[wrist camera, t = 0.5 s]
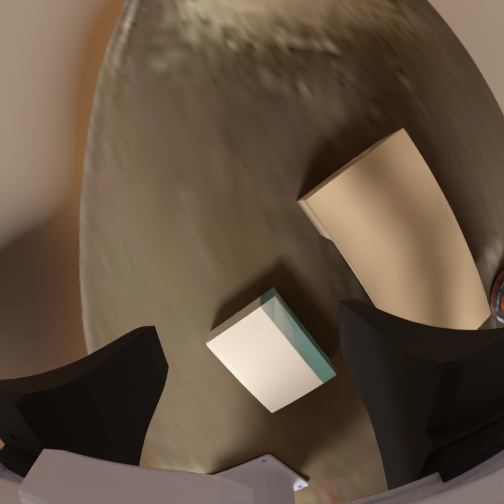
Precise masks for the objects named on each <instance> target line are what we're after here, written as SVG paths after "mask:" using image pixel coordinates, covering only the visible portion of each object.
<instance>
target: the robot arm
mask: <svg viewBox="0 0 504 504" xmlns="http://www.w3.org/2000/svg"><path fill="white" fill-rule="evenodd" d="M338 312H339V336H340V349H341V352H342V355H343V359H344V362H345V365H346V367H347V369H348V371H349V374H350V376H351V378H352V380H353V382H354V384H355V386H356V388H357V390H358V392H359V394H360V396H361V398H362V400H363V402H364V404H365V406H366V409H367V411H368V414H369V416H370V420H371V423H372V426H373V429H374V432H375V436H376V439H377V443H378V446H379V450H380V454H381V458H382V462H383V466H384V470H385V475H386V480H387V485H388V490H389V491H386V492H383V493H379V494H376V495H372V496H369V497H365V498H361V499H358V500H353V501H349V502H345V503H340V504H504V328H496V329H486V330H463V329H450V328H442V327H435V326H430V325H426V324H421V323H417V322H413V321H410V320H407V319H404V318H401V317H398V316H395V315H392V314H390V313H387V312H385V311H383V310H380V309H378V308H376V307H373V306H371V305H369V304H366V303H364V302H362V301H359V300H356V299H348V300H343V301H338ZM168 368H169V366H168V363H167V361H166V358H165V355H164V352H163V349H162V346H161V344H160V341H159V338H158V335H157V331H156V328H155V326H144V327H139V328H137V329H135V330H133V331H131V332H129V333H127V334H125V335H123V336H122V337H120V338H118V339H117V340H115V341H113V342H111V343H110V344H108V345H106V346H105V347H103V348H101V349H99V350H97V351H95V352H94V353H92V354H90V355H88V356H86V357H84V358H82V359H80V360H78V361H75V362H73V363H71V364H68V365H66V366H63V367H60V368H57V369H54V370H51V371H48V372H45V373H42V374H37V375H33V376H28V377H22V378H16V379H5V380H0V439H1V440H2V441H3V443H4V444H5V445H4V447H3V448H2V449H1V448H0V504H295V494H294V491H296V490H299V489H301V488H304V487H306V486H308V481H306V480H305V479H303V478H302V477H300V476H299V475H298V474H296V473H295V472H293V471H292V470H291V469H289V468H288V467H287V466H285V465H284V464H283V463H281V462H280V461H279V460H277V459H276V458H275V457H274V456H272V455H270V454H266V455H264V456H261V457H259V458H257V459H254V460H252V461H249V462H247V463H244V464H242V465H239V466H237V467H234V468H231V469H229V470H226V471H223V472H220V473H217V474H214V475H207V474H200V473H194V472H188V471H180V470H167V469H157V468H148V467H141V466H139V463H140V458H141V452H142V448H143V444H144V440H145V436H146V433H147V430H148V427H149V424H150V422H151V419H152V417H153V414H154V412H155V409H156V407H157V404H158V402H159V399H160V397H161V394H162V392H163V389H164V386H165V382H166V378H167V373H168Z"/></svg>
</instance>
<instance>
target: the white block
mask: <svg viewBox="0 0 504 504" xmlns="http://www.w3.org/2000/svg"><path fill="white" fill-rule="evenodd" d="M206 345H207V346H208V347H209V348H210V350H211V351H212V352H213V353H214V354H215V355H216V356H217V357H218V358H219V359H220V361H221V362H222V363H223V364H224V365H225V366H226V367H227V368H228V369H229V370H230V371H231V372H232V373H233V375H234V376H235V377H236V378H237V379H238V380H239V381H240V382H241V383H242V384H243V385H244V386H245V387H246V388H247V389H248V390H249V391H250V392H251V393H252V394H253V395H254V396H255V397H256V398H257V399H258V400H259V401H260V402H261V403H262V404H263V405H264V406H265V407H266V408H267V409H268V410H269V411H270V412H271V413H273V412H275V411H277V410H279V409H281V408H283V407H284V406H286V405H288V404H290V403H291V402H293V401H295V400H297V399H298V398H300V397H302V396H304V395H305V394H307V393H309V392H310V391H312V390H313V389H315V388H317V387H318V386H320V385H322V384H323V383H325V382H326V381H328V380H329V379H331V378H333V377H334V376H336V375H337V374H336V372H335V370H334V367H333V365H332V363H331V360H330V359H329V358H328V356H327V355H326V354H325V353H324V351H323V350H322V349H321V348H320V346H319V345H318V344H317V342H316V341H315V340H314V339H313V337H312V336H311V335H310V333H309V332H308V331H307V330H306V328H305V327H304V326H303V324H302V323H301V322H300V321H299V319H298V318H297V317H296V315H295V314H294V313H293V312H292V310H291V309H290V308H289V306H288V305H287V304H286V302H285V301H284V300H283V299H282V297H281V296H280V295H279V293H278V292H277V291H276V290H275V288H274V287H273V288H271V289H270V290H269V291H267V292H266V293H264V294H263V295H262V296H260V297H259V298H257V299H256V300H255V301H253V302H252V303H250V304H249V305H248V306H246V307H245V308H243V309H242V310H240V311H239V312H238V313H236V314H235V315H233V316H232V317H230V318H229V319H228V320H226V321H225V322H223V323H222V324H220V325H219V326H217V327H216V328H214V329H213V330H212V331H211V332H210V334H209V337H208V339H207V342H206Z"/></svg>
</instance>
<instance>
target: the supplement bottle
mask: <svg viewBox="0 0 504 504" xmlns="http://www.w3.org/2000/svg"><path fill="white" fill-rule="evenodd" d="M490 309H491V313H492V315H493V316H494V318H495V319H497V320H498V321H500V322H501V323H503V324H504V269H503V270H502V271H501V273H500V274H499V275H498V277H497V278H496V280H495V283H494V285H493V288H492V292H491V297H490Z"/></svg>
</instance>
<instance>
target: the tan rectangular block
mask: <svg viewBox="0 0 504 504" xmlns="http://www.w3.org/2000/svg"><path fill="white" fill-rule="evenodd" d="M297 203H298V204H299V206H300V207H301V208H302V210H303V211H304V212H305V214H306V215H307V216H308V218H309V219H310V221H311V222H312V223H313V225H314V226H315V228H316V229H317V230H318V232H319V233H320V235H322V236H324V237H326V238H328V239H330V240H332V241H333V242H334V244H335V245H336V247H337V248H338V250H339V251H340V253H341V254H342V256H343V257H344V259H345V260H346V261H347V263H348V264H349V266H350V268H351V269H352V271H353V272H354V274H355V275H356V277H357V278H358V280H359V281H360V283H361V284H362V286H363V287H364V289H365V291H366V292H367V294H368V295H369V297H370V298H371V300H372V302H373V303H374V305H375V307H376V308H378V309H380V310H383V311H385V312H387V313H390V314H392V315H395V316H398V317H401V318H404V319H407V320H410V321H413V322H417V323H421V324H426V325H430V326H435V327H442V328H450V329H463V330H477V329H478V328H479V327H480V326H481V325H482V323H483V322H484V321H485V320H486V319H487V318H488V317H489V316H490V315H491V311H490V308H489V305H488V301H487V298H486V295H485V292H484V288H483V285H482V282H481V280H480V277H479V274H478V271H477V268H476V266H475V263H474V260H473V258H472V255H471V253H470V250H469V248H468V245H467V243H466V241H465V238H464V236H463V234H462V231H461V229H460V227H459V225H458V223H457V220H456V218H455V216H454V214H453V212H452V210H451V208H450V206H449V204H448V202H447V200H446V198H445V196H444V194H443V192H442V190H441V189H440V187H439V185H438V183H437V181H436V180H435V178H434V176H433V174H432V172H431V171H430V169H429V167H428V166H427V164H426V162H425V161H424V159H423V157H422V156H421V154H420V153H419V151H418V149H417V148H416V146H415V145H414V143H413V142H412V140H411V139H410V137H409V136H408V134H407V133H406V131H405V130H404V128H402V129H400V130H399V131H397V132H395V133H393V134H391V135H389V136H387V137H385V138H383V139H381V140H379V141H377V142H376V143H375V144H373V145H372V146H371V147H369V148H368V149H366V150H365V151H364V152H362V153H361V154H360V155H358V156H357V157H355V158H354V159H353V160H351V161H350V162H349V163H347V164H346V165H345V166H343V167H342V168H340V169H339V170H338V171H336V172H335V173H334V174H332V175H331V176H330V177H328V178H327V179H326V180H324V181H323V182H321V183H320V184H319V185H317V186H316V187H315V188H313V189H312V190H311V191H309V192H308V193H307V194H305V195H304V196H303V197H301V198H300V199H299V200H297Z"/></svg>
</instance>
